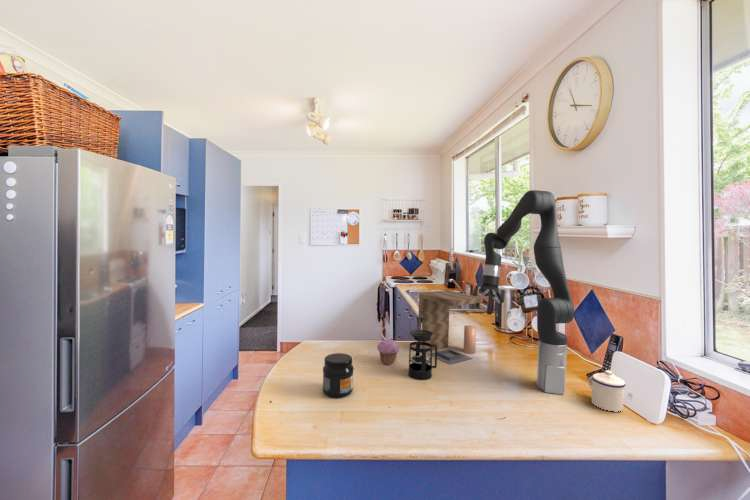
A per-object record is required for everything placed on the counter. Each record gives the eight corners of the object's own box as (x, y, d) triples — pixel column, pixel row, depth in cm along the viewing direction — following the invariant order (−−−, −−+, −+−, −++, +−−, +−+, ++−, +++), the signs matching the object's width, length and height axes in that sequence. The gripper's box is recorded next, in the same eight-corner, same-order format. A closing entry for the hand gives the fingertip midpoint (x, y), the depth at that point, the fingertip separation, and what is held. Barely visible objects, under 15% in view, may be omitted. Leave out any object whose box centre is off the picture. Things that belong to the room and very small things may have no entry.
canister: (475, 354, 157) (476, 328, 156) (463, 353, 158) (464, 328, 158) (474, 350, 162) (475, 325, 162) (463, 349, 163) (464, 325, 163)
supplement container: (359, 393, 116) (359, 358, 115) (333, 402, 109) (334, 366, 108) (341, 382, 124) (342, 350, 123) (316, 390, 117) (317, 356, 116)
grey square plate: (449, 349, 163) (449, 346, 163) (472, 358, 151) (472, 355, 151) (427, 354, 155) (427, 351, 155) (449, 364, 143) (449, 361, 143)
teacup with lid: (631, 412, 107) (633, 376, 107) (606, 414, 106) (608, 377, 105) (599, 394, 119) (601, 362, 118) (577, 396, 117) (579, 363, 117)
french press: (409, 380, 127) (411, 320, 126) (404, 370, 136) (405, 314, 135) (439, 379, 128) (441, 320, 127) (432, 369, 138) (433, 314, 136)
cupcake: (373, 361, 145) (373, 338, 145) (388, 357, 150) (389, 335, 150) (386, 368, 138) (387, 344, 137) (402, 363, 143) (402, 340, 143)
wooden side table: (445, 345, 168) (447, 290, 167) (480, 360, 150) (482, 297, 148) (417, 351, 158) (419, 292, 157) (451, 367, 140) (453, 301, 139)
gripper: (478, 272, 154) (473, 308, 153) (509, 277, 154) (504, 313, 153) (473, 273, 162) (469, 306, 161) (503, 277, 162) (498, 311, 160)
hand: (486, 309), depth 157 cm, fingers open, 8 cm apart
